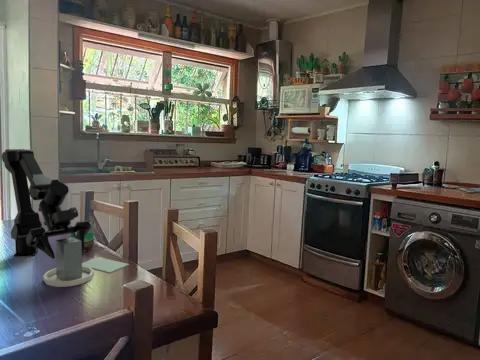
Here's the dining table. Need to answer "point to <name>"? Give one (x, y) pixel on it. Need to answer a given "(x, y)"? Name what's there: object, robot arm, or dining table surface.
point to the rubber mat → (104, 264)
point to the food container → (88, 236)
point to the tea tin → (69, 259)
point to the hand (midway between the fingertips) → (68, 255)
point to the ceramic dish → (52, 280)
